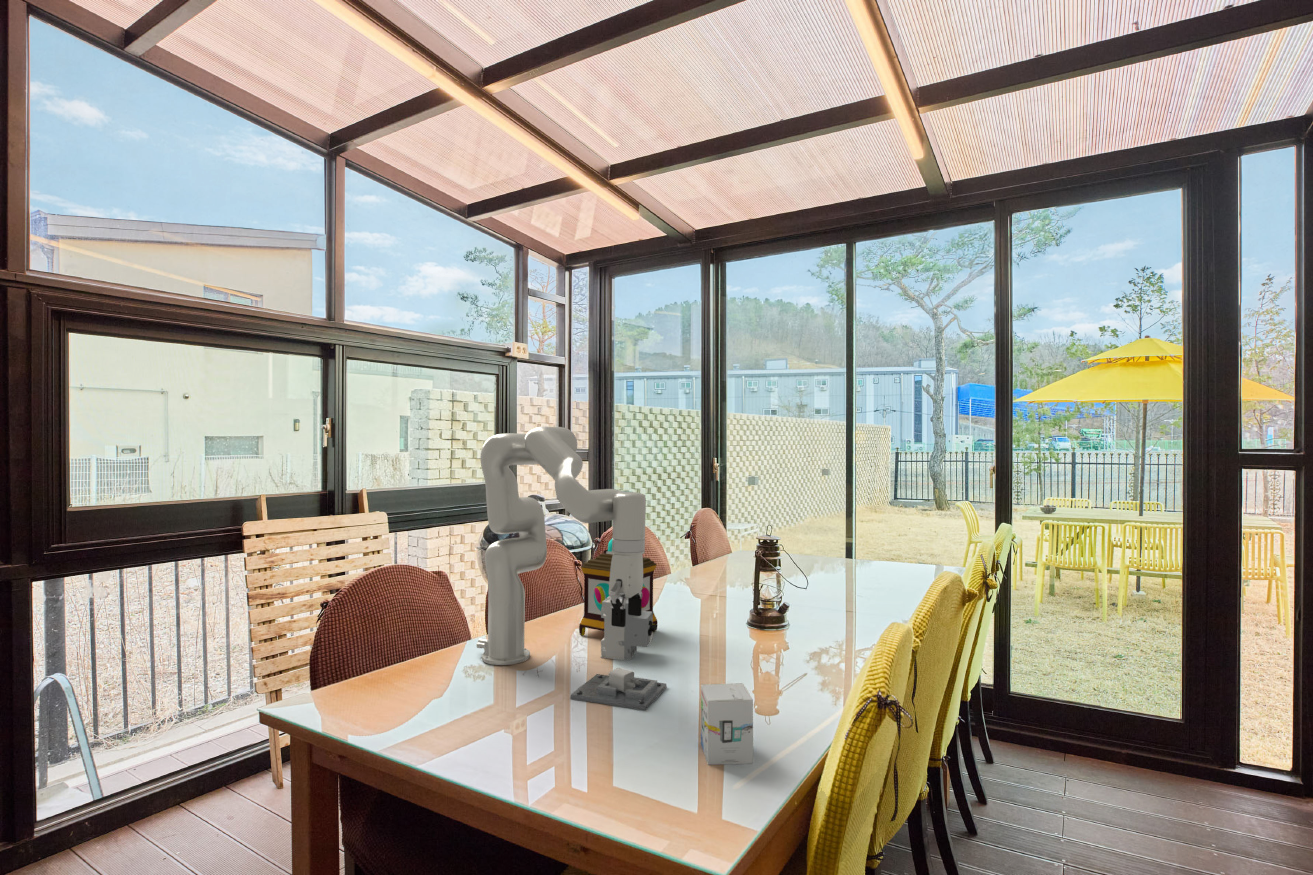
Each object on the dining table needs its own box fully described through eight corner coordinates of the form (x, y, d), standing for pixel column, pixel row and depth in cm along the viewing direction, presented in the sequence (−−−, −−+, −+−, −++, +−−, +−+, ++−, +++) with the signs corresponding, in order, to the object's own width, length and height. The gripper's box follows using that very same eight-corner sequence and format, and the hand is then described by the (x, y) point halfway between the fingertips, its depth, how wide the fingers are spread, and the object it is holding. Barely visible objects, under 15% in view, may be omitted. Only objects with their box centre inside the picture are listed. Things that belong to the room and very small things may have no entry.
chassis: (570, 698, 147) (570, 687, 147) (596, 677, 160) (597, 667, 160) (645, 710, 141) (645, 698, 141) (666, 687, 154) (666, 677, 154)
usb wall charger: (619, 683, 154) (619, 666, 154) (643, 690, 150) (643, 672, 150) (608, 688, 151) (608, 671, 151) (632, 695, 147) (632, 677, 147)
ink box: (699, 743, 126) (700, 682, 126) (743, 742, 126) (743, 681, 126) (707, 765, 117) (707, 700, 117) (753, 763, 118) (754, 698, 118)
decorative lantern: (664, 630, 202) (664, 533, 202) (627, 647, 185) (627, 541, 185) (611, 621, 212) (612, 528, 213) (572, 635, 196) (572, 535, 196)
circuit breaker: (652, 661, 173) (653, 604, 173) (600, 657, 176) (601, 601, 176) (658, 652, 180) (658, 598, 180) (608, 649, 183) (608, 595, 183)
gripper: (627, 539, 160) (626, 609, 160) (597, 550, 144) (595, 628, 144) (656, 542, 157) (654, 613, 157) (629, 553, 141) (627, 632, 141)
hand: (626, 620), depth 150 cm, fingers open, 9 cm apart
